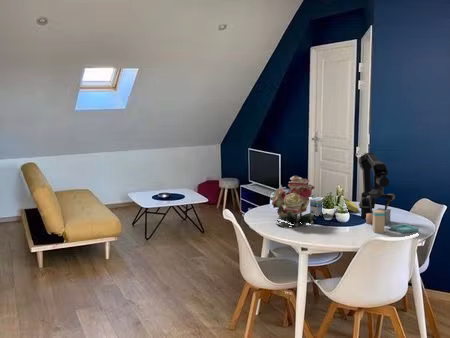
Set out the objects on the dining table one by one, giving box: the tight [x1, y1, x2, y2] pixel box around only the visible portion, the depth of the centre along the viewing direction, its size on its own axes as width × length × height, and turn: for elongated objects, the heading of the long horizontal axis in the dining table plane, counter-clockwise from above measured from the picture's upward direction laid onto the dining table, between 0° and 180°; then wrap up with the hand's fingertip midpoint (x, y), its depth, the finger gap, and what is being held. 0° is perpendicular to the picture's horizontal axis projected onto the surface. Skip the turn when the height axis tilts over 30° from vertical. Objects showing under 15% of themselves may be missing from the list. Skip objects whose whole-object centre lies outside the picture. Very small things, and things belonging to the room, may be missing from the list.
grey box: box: [375, 207, 392, 226], centre depth 309 cm, size 8×9×8 cm
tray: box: [389, 223, 420, 234], centre depth 292 cm, size 11×11×2 cm
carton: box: [371, 209, 385, 234], centre depth 290 cm, size 6×6×12 cm
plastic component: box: [343, 197, 359, 213], centre depth 348 cm, size 20×7×10 cm
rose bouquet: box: [269, 175, 316, 228], centre depth 312 cm, size 26×29×30 cm
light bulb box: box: [309, 196, 324, 217], centre depth 335 cm, size 11×7×11 cm, turn 131°
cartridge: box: [365, 213, 373, 225], centre depth 309 cm, size 4×4×6 cm
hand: (377, 209), depth 301 cm, fingers open, 9 cm apart
